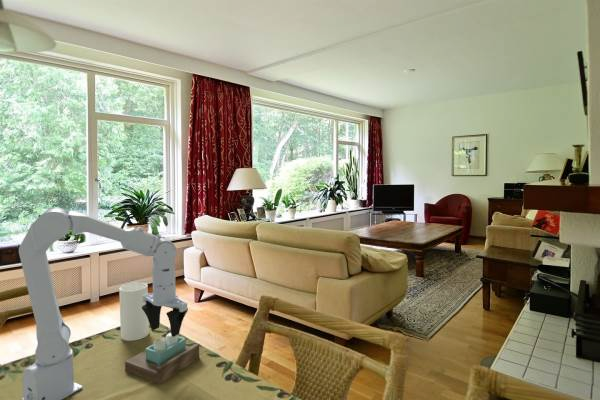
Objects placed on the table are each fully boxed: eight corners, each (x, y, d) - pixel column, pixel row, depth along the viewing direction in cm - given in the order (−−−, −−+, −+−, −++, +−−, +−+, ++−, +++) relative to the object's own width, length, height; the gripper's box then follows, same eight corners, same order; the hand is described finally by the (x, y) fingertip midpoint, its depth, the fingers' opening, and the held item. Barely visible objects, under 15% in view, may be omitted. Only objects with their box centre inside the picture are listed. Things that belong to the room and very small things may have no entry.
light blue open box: (160, 366, 93) (159, 347, 92) (145, 361, 95) (145, 343, 95) (185, 350, 101) (185, 333, 100) (171, 346, 103) (171, 329, 103)
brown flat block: (160, 383, 89) (159, 368, 89) (125, 370, 95) (124, 355, 95) (199, 357, 102) (199, 344, 101) (166, 347, 108) (166, 334, 107)
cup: (153, 329, 119) (152, 283, 117) (140, 341, 111) (138, 291, 109) (130, 328, 120) (128, 281, 118) (115, 340, 111) (113, 290, 110)
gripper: (195, 283, 96) (195, 331, 97) (156, 275, 103) (158, 320, 104) (175, 291, 90) (176, 342, 91) (135, 282, 96) (137, 330, 98)
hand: (165, 331), depth 97 cm, fingers open, 7 cm apart
